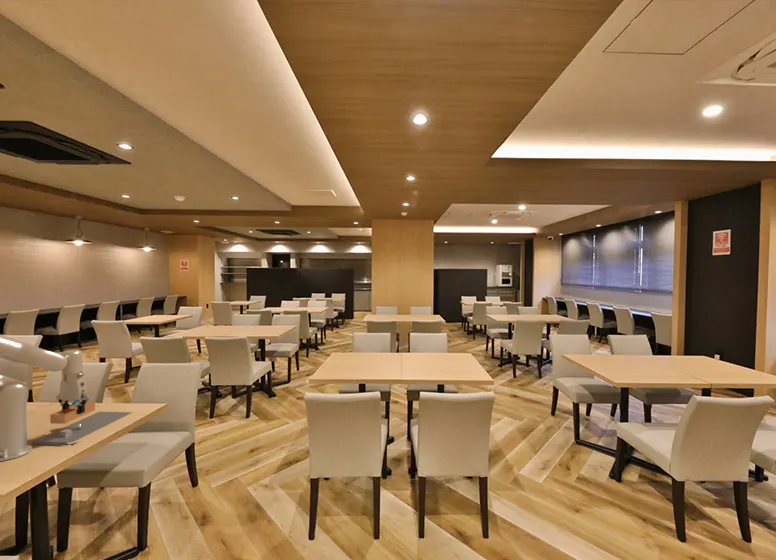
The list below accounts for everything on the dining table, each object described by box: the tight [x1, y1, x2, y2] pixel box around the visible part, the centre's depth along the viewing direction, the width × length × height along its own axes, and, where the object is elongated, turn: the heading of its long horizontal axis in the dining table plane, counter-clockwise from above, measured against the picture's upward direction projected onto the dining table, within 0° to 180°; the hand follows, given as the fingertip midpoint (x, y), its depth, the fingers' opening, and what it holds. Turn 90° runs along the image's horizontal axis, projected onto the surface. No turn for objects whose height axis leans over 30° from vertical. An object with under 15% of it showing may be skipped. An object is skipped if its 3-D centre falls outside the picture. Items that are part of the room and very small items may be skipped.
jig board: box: [31, 411, 134, 446], centre depth 182 cm, size 36×19×4 cm, turn 177°
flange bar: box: [49, 401, 96, 425], centre depth 174 cm, size 16×7×4 cm, turn 177°
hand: (73, 412), depth 174 cm, fingers closed on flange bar, 7 cm apart
